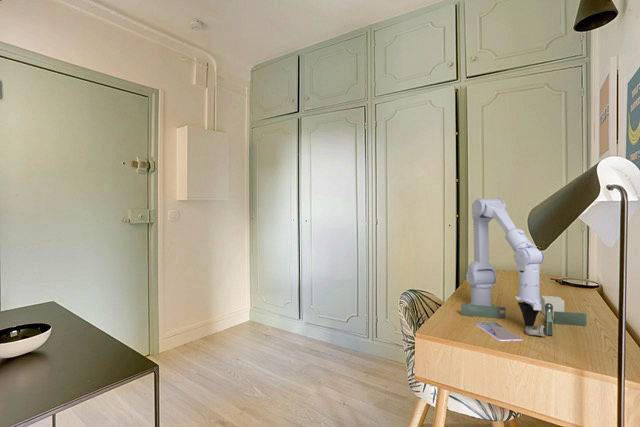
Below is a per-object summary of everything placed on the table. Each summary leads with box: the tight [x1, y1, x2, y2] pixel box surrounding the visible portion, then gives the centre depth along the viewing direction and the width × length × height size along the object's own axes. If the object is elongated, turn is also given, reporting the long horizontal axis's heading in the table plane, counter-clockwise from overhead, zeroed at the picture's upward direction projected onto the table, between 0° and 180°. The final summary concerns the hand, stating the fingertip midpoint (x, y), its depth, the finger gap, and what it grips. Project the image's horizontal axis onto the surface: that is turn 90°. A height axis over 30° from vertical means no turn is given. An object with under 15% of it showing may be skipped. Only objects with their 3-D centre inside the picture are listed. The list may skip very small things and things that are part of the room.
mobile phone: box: [475, 321, 523, 342], centre depth 104 cm, size 8×1×15 cm
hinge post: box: [544, 303, 587, 327], centre depth 110 cm, size 2×12×7 cm, turn 74°
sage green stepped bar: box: [546, 311, 554, 336], centre depth 105 cm, size 12×2×4 cm, turn 146°
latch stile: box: [460, 303, 507, 320], centre depth 119 cm, size 1×15×4 cm, turn 74°
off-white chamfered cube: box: [540, 295, 565, 317], centre depth 121 cm, size 6×6×6 cm
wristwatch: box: [524, 324, 547, 338], centre depth 101 cm, size 4×6×5 cm
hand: (529, 325), depth 105 cm, fingers closed
